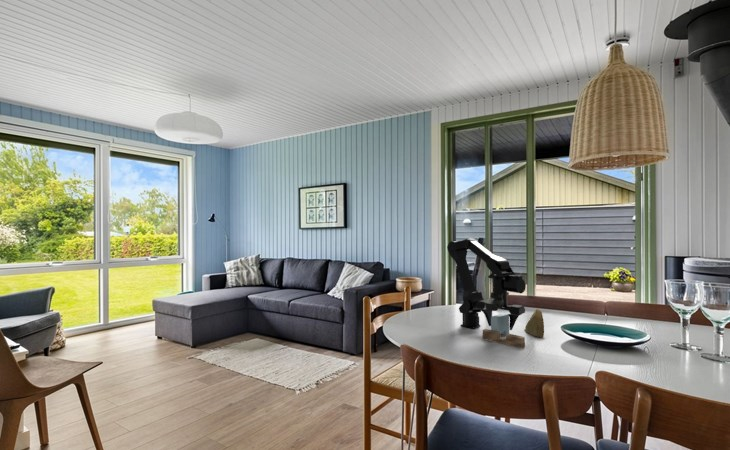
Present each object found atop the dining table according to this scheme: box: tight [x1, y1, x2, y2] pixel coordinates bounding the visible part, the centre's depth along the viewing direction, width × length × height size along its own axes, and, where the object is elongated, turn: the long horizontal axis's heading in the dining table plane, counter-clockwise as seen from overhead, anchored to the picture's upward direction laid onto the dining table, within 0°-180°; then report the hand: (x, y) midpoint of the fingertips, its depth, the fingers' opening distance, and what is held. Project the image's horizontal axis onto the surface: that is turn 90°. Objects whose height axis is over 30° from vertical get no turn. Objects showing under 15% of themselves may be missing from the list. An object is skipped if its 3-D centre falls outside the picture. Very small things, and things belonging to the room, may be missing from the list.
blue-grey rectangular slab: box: [490, 312, 510, 337], centre depth 159 cm, size 10×2×8 cm, turn 132°
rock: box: [524, 309, 545, 338], centre depth 160 cm, size 11×9×10 cm
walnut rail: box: [481, 328, 526, 349], centre depth 149 cm, size 16×2×4 cm, turn 42°
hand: (500, 327), depth 159 cm, fingers open, 9 cm apart
